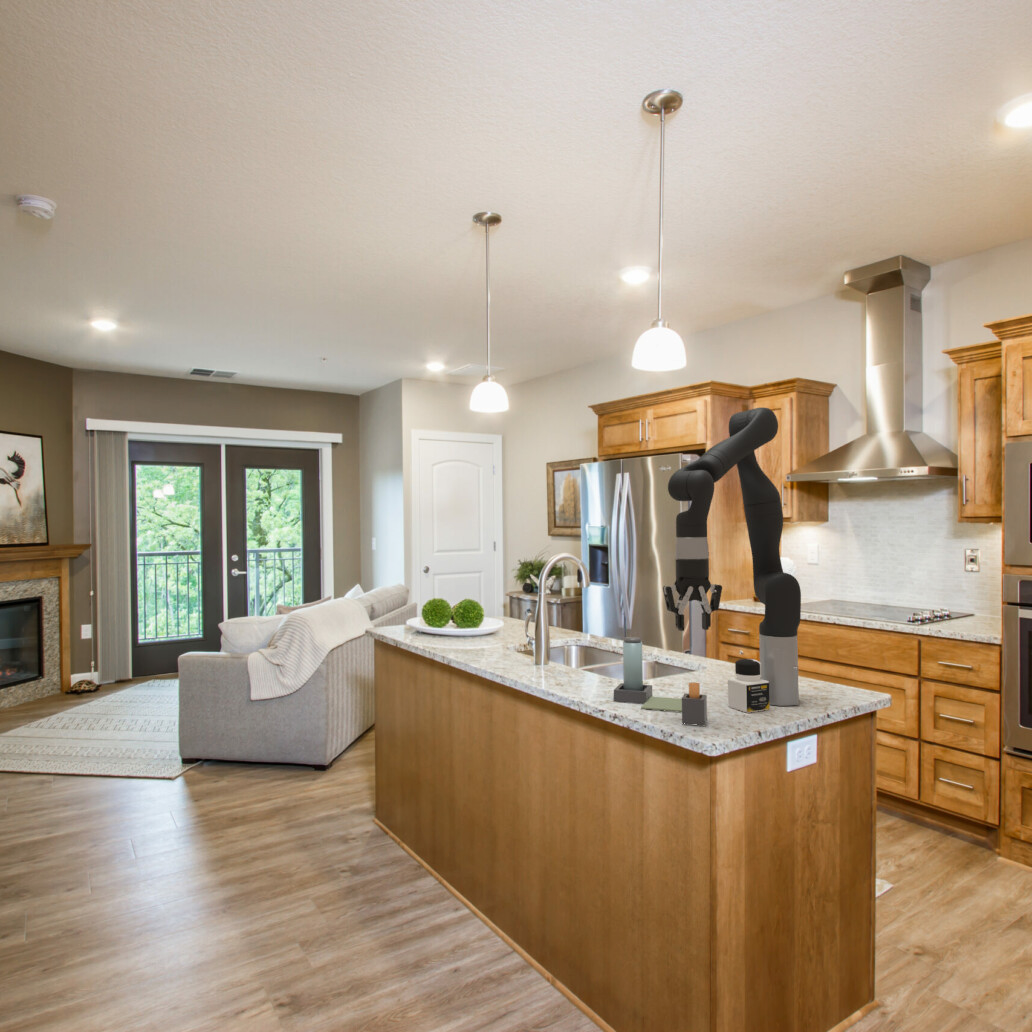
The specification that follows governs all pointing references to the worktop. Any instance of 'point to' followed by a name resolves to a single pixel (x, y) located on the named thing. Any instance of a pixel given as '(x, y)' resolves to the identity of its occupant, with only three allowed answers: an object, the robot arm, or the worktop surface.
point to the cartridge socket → (632, 694)
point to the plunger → (694, 690)
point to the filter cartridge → (632, 664)
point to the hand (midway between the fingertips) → (693, 629)
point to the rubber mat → (663, 704)
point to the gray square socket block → (694, 710)
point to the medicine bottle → (748, 687)
